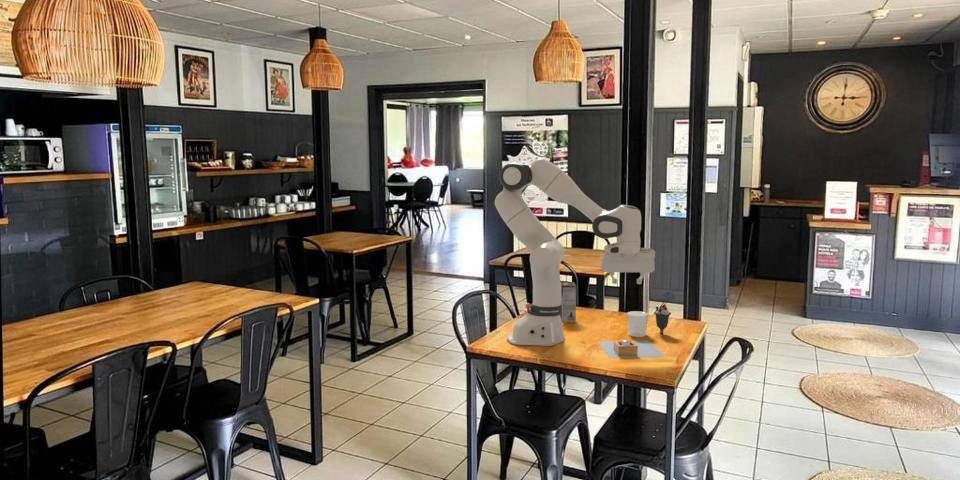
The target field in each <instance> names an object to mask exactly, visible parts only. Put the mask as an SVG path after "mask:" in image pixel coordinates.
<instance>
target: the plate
mask: <svg viewBox="0 0 960 480" xmlns="http://www.w3.org/2000/svg"><path fill="white" fill-rule="evenodd" d="M614 341H615V340H612V341H611V340H610V341H609V340H608V341H606V340H604V341H602V340H601V341H598V340H597V341H596V343H597V344H598V345H599V346H600V347H601V349H602V350H603V351H604V353H605V354H606V355H607V357H608V358H610V359H612V358H613V359H614V358H615V359H616V358H618V359H619V358H620V359H621V358H666V355H664V354H663V353H662V351H660V350H659V349H658V348H657V347H656V346H655V345H654V343H652V342H651V341H650V340H632V341H633V342H634V343H635V344H636V345H637V346H638V351H637V356H618V355H617V354H616V353H615V351H614Z"/></svg>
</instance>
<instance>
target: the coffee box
mask: <svg viewBox="0 0 960 480" xmlns="http://www.w3.org/2000/svg"><path fill="white" fill-rule="evenodd" d="M561 304H562V319H561V321H562V323H563V322H564V323H565V322H566V323H576V322H577V321H576V320H577V319H576V318H577V315H576V314H577V285H576V282H575V281H561Z"/></svg>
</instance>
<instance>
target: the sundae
mask: <svg viewBox="0 0 960 480" xmlns="http://www.w3.org/2000/svg"><path fill="white" fill-rule="evenodd" d="M668 303H669V301H666V302H665V303H664V304H662V305H660V306H656V308H655V311H654V312H653V314H654V315H655V321H656V327H657V328H658V329H659V330H660V331H659V335H660V336H661V335H664V330H665V329H666V328H668V325H669V324H668V323H669V318H670V316H671V314H672V312H670V310H668V307H667V306H666V305H667V304H668Z"/></svg>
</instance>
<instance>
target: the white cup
mask: <svg viewBox="0 0 960 480" xmlns="http://www.w3.org/2000/svg"><path fill="white" fill-rule="evenodd" d="M626 313H627V315H626V316H627V317H626V318H627V320H626V321H627V334H628V336H629V337H634V338H636V337H637V338H641V337H642V338H643V337H645V336H646V335H647V331H648V330H647V328H648V317H649V316H648V315H649V313H648V312H644V311H640V310H639V311H638V310H634V311H633V310H632V311H628V312H626Z"/></svg>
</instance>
